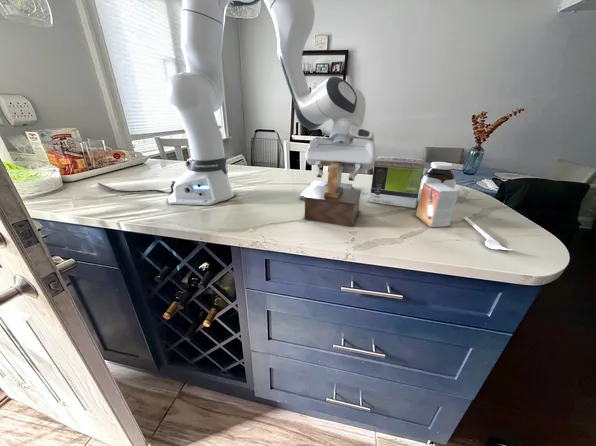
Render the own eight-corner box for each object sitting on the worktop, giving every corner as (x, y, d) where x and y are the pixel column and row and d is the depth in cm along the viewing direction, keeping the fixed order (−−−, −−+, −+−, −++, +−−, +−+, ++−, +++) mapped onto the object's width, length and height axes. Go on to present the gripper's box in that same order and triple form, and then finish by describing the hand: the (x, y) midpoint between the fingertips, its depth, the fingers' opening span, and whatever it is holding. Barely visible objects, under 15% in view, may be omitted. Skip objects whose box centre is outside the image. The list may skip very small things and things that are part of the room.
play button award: (300, 195, 87) (314, 180, 104) (300, 199, 88) (314, 184, 105) (345, 200, 83) (352, 184, 100) (345, 204, 83) (352, 187, 101)
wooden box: (303, 219, 72) (303, 197, 69) (316, 205, 83) (316, 185, 80) (352, 227, 68) (354, 203, 65) (358, 211, 78) (361, 190, 75)
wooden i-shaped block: (324, 196, 70) (325, 166, 66) (330, 189, 76) (331, 161, 72) (337, 198, 69) (340, 167, 65) (342, 190, 74) (345, 162, 71)
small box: (415, 215, 75) (422, 182, 70) (432, 215, 75) (441, 182, 71) (430, 227, 67) (439, 191, 63) (449, 226, 68) (460, 190, 63)
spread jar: (420, 195, 92) (427, 164, 87) (419, 187, 101) (425, 158, 96) (456, 199, 88) (466, 167, 83) (451, 190, 97) (460, 161, 92)
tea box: (416, 199, 87) (425, 158, 81) (415, 209, 79) (425, 163, 73) (373, 194, 93) (378, 154, 87) (368, 202, 85) (374, 159, 79)
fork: (470, 219, 72) (472, 214, 71) (512, 256, 54) (515, 249, 53) (458, 219, 73) (460, 213, 72) (496, 255, 55) (499, 248, 54)
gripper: (309, 130, 74) (298, 169, 70) (379, 132, 68) (370, 175, 64) (313, 143, 80) (303, 180, 76) (378, 146, 73) (370, 187, 69)
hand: (334, 178), depth 70 cm, fingers open, 8 cm apart
